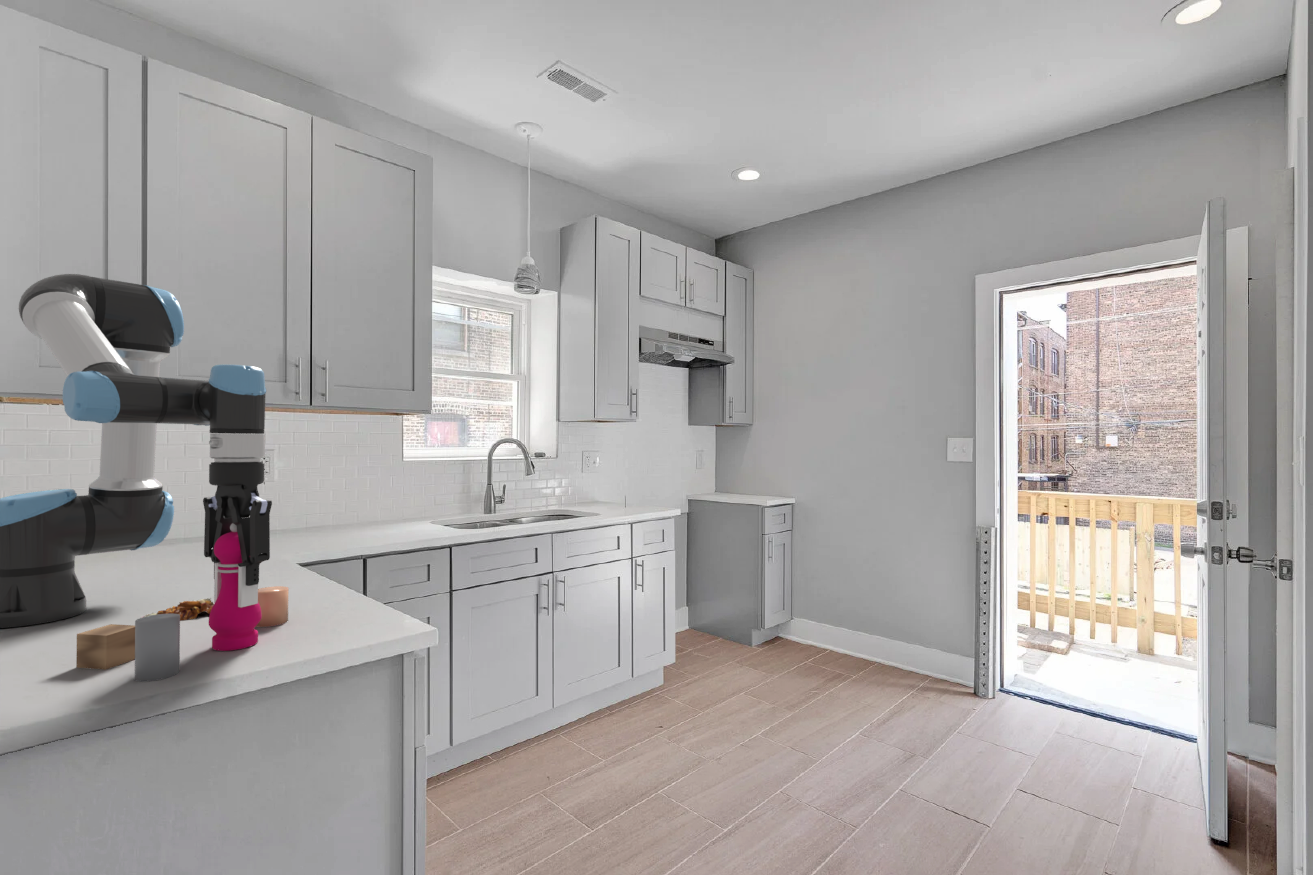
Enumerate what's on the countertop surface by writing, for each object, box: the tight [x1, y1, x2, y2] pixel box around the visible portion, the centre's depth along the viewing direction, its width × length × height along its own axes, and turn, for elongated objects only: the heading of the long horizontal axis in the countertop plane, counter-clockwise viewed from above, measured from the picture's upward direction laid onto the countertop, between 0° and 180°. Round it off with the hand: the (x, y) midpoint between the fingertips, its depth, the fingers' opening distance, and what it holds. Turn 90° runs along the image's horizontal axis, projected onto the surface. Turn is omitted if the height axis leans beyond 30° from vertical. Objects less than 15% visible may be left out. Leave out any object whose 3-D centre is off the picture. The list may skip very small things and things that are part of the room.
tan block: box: [75, 623, 135, 671], centre depth 95 cm, size 5×5×5 cm
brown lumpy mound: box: [143, 597, 215, 622], centre depth 119 cm, size 7×12×4 cm, turn 139°
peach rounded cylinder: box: [255, 585, 290, 628], centre depth 116 cm, size 6×6×6 cm
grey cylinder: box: [134, 614, 181, 682], centre depth 90 cm, size 5×5×8 cm
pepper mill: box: [208, 523, 262, 652], centre depth 103 cm, size 7×7×20 cm
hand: (235, 602), depth 103 cm, fingers closed on pepper mill, 5 cm apart
